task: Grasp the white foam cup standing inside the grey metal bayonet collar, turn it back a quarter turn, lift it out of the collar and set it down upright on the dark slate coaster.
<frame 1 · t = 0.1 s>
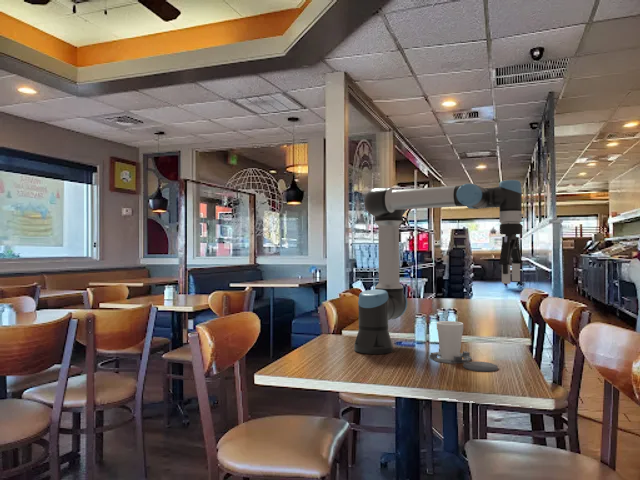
hand: (511, 282, 176), 28 cm above the table, fingers open, 13 cm apart
foam cup: (450, 359, 178), on the table
collar: (450, 358, 178), on the table
coaster: (480, 367, 164), on the table
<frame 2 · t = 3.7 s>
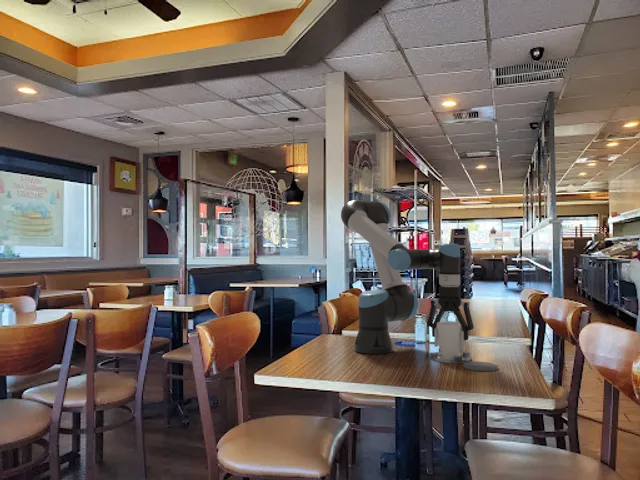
hand: (450, 347, 178), 4 cm above the table, fingers closed on foam cup, 9 cm apart
foam cup: (450, 359, 178), on the table, touching gripper
when the fingers open (6 cm above the table, at t = 10.9 s): foam cup drops 1 cm, resting on coaster.
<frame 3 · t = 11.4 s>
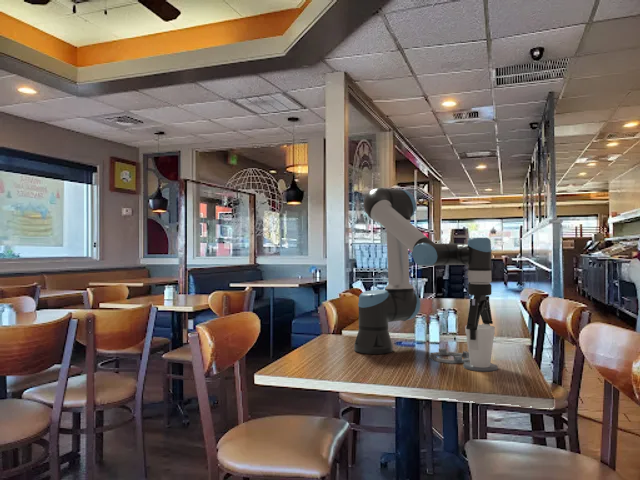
hand: (480, 346, 165), 7 cm above the table, fingers open, 13 cm apart
foam cup: (480, 365, 164), point 1 cm above the table, touching coaster
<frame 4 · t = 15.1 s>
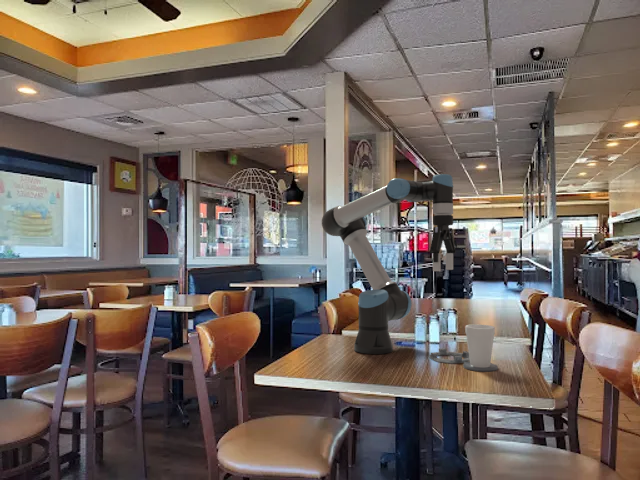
hand: (443, 270, 187), 32 cm above the table, fingers open, 13 cm apart
nothing on the table moved.
at the end: foam cup 0.0 cm from the coaster (horizontally); foam cup tilted 0°; the gripper is holding nothing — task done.
